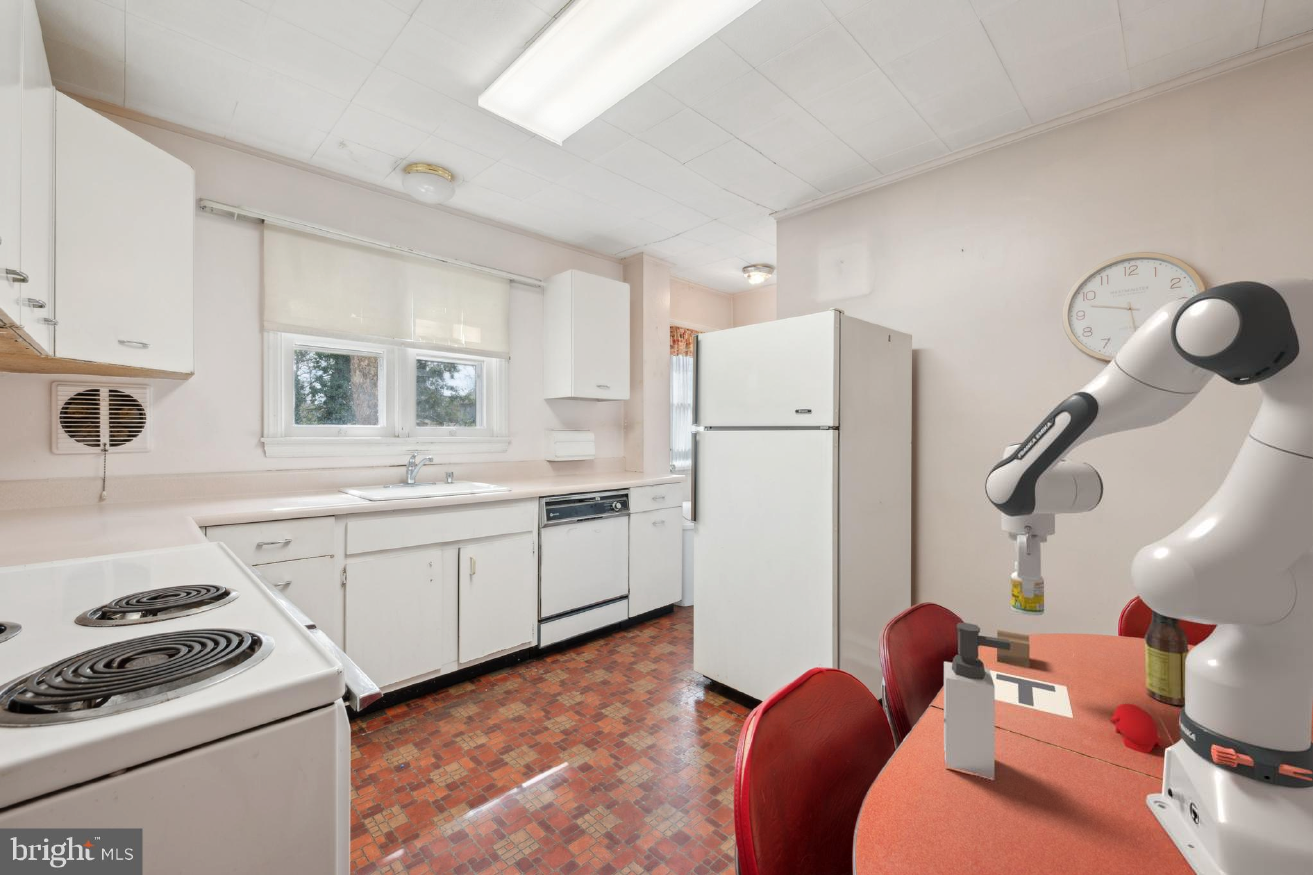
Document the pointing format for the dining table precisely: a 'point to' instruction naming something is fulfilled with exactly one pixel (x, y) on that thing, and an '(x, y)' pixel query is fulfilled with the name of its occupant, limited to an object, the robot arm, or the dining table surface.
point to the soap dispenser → (970, 704)
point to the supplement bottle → (1025, 603)
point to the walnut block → (1014, 649)
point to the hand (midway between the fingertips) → (1027, 592)
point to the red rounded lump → (1136, 728)
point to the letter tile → (1032, 693)
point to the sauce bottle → (1166, 659)
